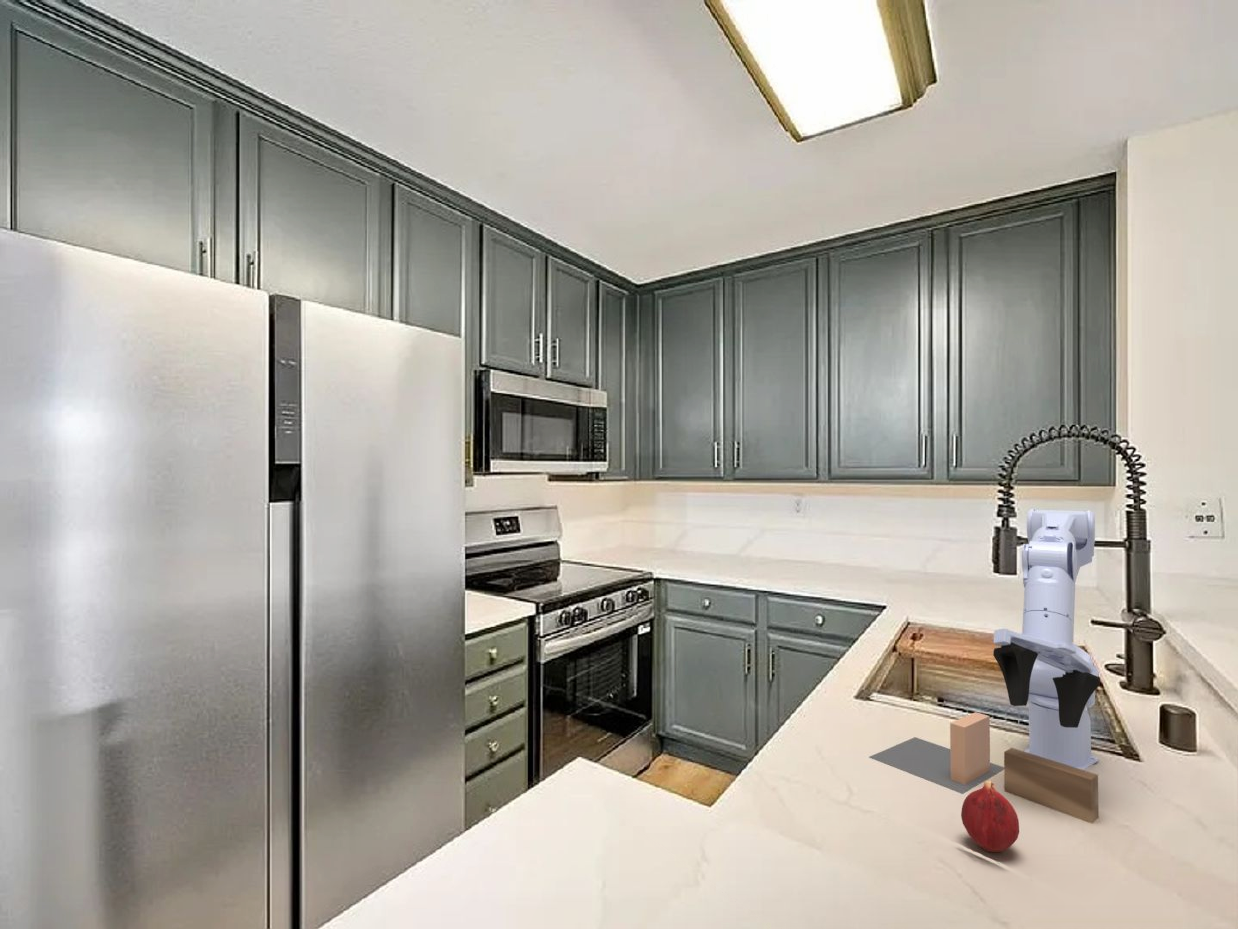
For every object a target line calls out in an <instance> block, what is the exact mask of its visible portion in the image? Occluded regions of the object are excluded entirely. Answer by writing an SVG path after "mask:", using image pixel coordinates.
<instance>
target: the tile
mask: <svg viewBox="0 0 1238 929" xmlns="http://www.w3.org/2000/svg"><path fill="white" fill-rule="evenodd" d="M990 724H991V722H990V715H987V714H984V713H979V712H977V711H975V712H973V713H970V714H968V715H965V716H963V717H961V718H959V719H956V720H954V721H952V722H950V723H949V728H950V729H949V730H950V732H949V735H950V737H949V738H950V740H949V742H950V743H949V744H950V747H949V749H950V766H951V780H954V781H956V782H959V783H961V784H964V785H966V784H968V783H969V782H971V781H973V780H975V779H976V778H978V777H980V776H981V775H983V774H985V773H987V772H988V771H990V763H991V741H990V740H991V732H990V730H991V728H990V727H991V725H990Z"/></svg>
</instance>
